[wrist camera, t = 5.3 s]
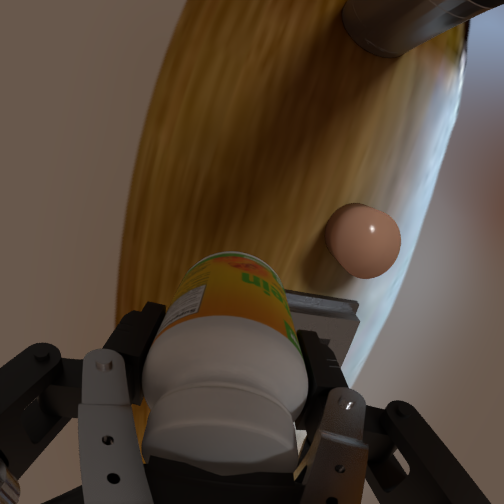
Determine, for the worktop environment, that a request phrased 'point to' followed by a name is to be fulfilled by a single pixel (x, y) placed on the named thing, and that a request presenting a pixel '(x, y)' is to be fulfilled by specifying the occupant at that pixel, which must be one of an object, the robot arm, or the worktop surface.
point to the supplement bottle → (226, 371)
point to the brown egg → (363, 240)
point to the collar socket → (325, 319)
